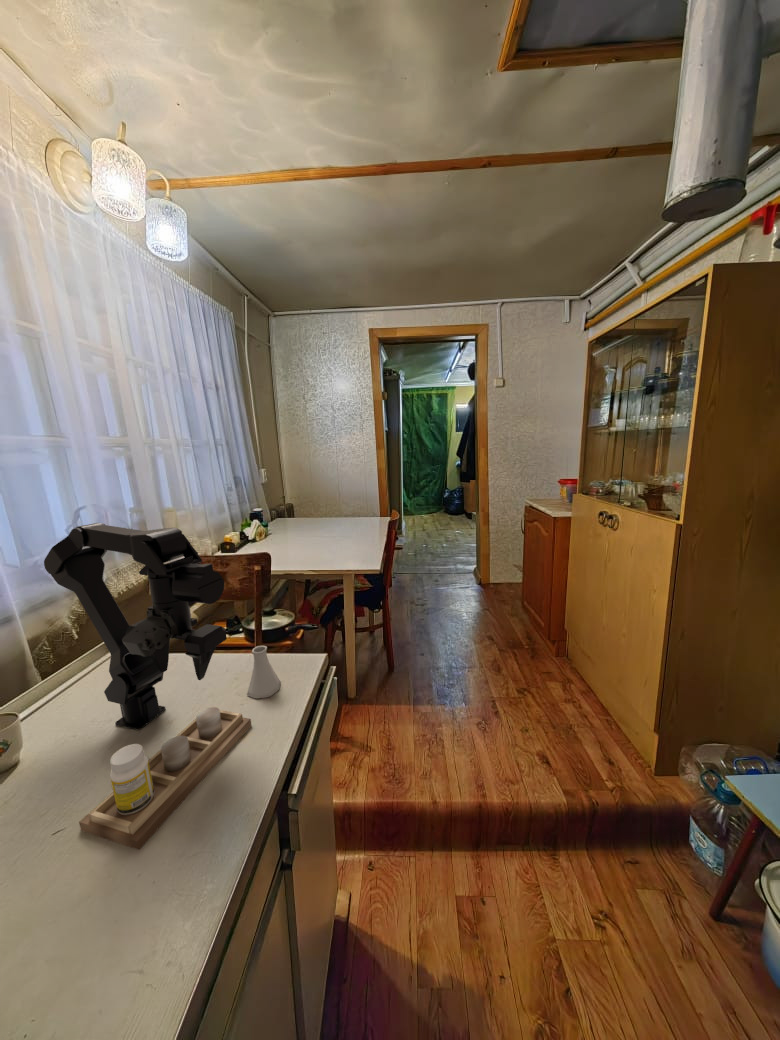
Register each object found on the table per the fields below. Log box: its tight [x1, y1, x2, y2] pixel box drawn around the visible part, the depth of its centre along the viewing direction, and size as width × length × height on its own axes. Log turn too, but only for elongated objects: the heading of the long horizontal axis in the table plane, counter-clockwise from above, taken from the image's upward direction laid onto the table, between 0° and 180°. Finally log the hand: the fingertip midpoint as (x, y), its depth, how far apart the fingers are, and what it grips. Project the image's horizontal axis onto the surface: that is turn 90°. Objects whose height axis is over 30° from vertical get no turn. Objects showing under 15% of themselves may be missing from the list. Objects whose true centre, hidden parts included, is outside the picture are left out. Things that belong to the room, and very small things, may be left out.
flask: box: [246, 645, 282, 699], centre depth 85 cm, size 7×7×10 cm
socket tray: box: [78, 706, 252, 851], centre depth 64 cm, size 11×24×5 cm, turn 164°
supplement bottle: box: [109, 743, 154, 815], centre depth 57 cm, size 5×5×8 cm
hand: (182, 675), depth 72 cm, fingers open, 9 cm apart
